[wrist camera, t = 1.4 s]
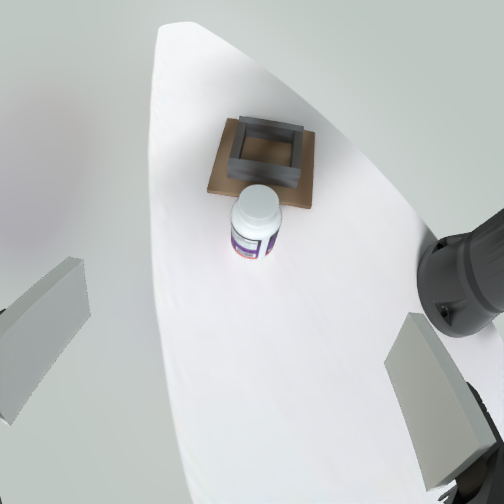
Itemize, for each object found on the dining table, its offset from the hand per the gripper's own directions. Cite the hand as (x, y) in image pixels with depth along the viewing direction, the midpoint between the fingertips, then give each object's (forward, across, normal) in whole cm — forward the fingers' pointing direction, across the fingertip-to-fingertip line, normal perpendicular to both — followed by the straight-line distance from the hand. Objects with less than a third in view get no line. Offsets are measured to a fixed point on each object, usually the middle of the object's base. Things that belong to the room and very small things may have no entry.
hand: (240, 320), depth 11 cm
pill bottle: (+26, 0, -7) cm, 27 cm away
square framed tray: (+36, 0, +2) cm, 36 cm away
